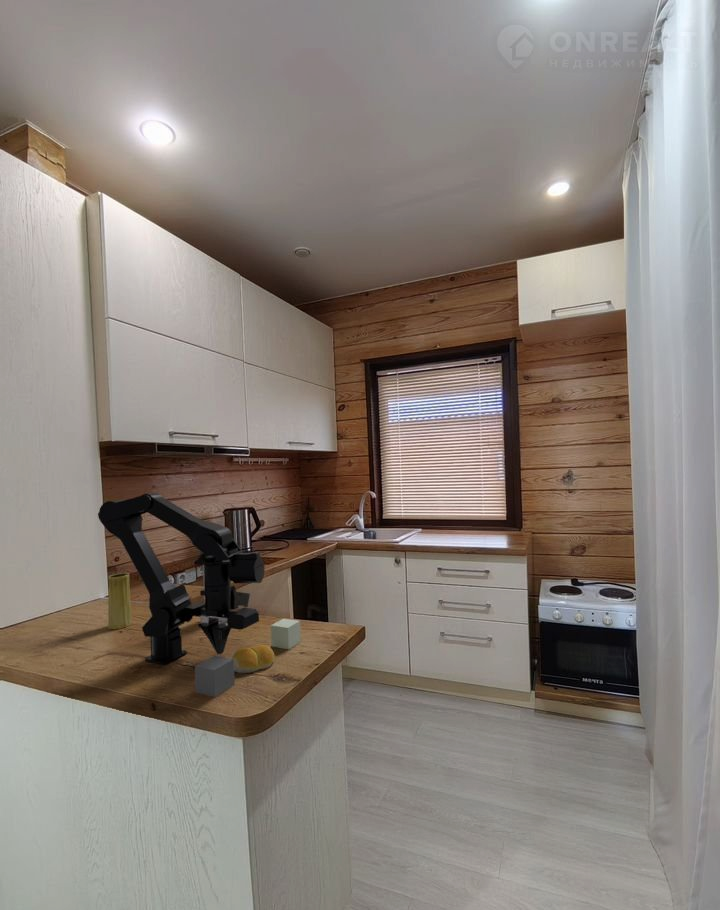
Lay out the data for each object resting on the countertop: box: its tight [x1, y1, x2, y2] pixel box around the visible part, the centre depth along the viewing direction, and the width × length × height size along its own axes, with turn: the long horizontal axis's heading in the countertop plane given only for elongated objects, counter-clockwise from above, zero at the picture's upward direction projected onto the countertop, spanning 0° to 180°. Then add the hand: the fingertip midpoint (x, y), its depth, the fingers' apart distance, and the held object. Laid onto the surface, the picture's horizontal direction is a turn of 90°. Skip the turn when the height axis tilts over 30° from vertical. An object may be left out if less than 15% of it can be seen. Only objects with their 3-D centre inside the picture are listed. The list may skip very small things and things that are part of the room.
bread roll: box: [231, 644, 275, 674], centre depth 95 cm, size 8×9×4 cm
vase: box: [107, 572, 133, 630], centre depth 125 cm, size 6×6×14 cm
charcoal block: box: [194, 655, 235, 698], centre depth 84 cm, size 5×5×5 cm
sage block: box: [270, 618, 302, 650], centre depth 105 cm, size 5×5×5 cm
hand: (220, 653), depth 98 cm, fingers closed
